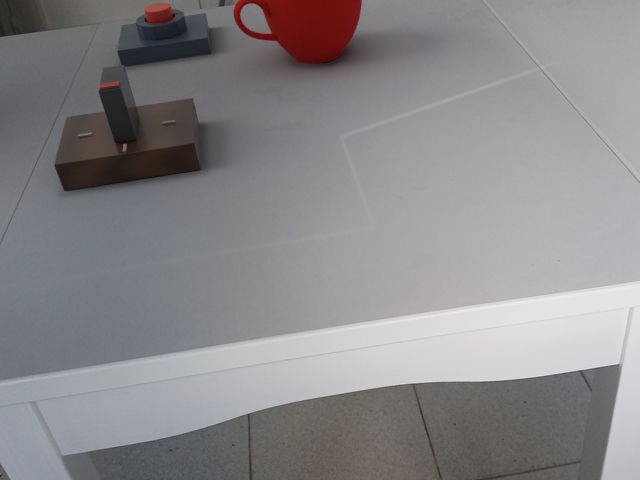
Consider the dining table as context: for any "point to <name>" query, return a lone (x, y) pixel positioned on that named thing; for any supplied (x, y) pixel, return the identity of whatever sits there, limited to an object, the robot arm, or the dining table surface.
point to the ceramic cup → (306, 26)
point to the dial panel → (129, 146)
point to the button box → (164, 39)
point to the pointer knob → (119, 103)
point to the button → (158, 13)
